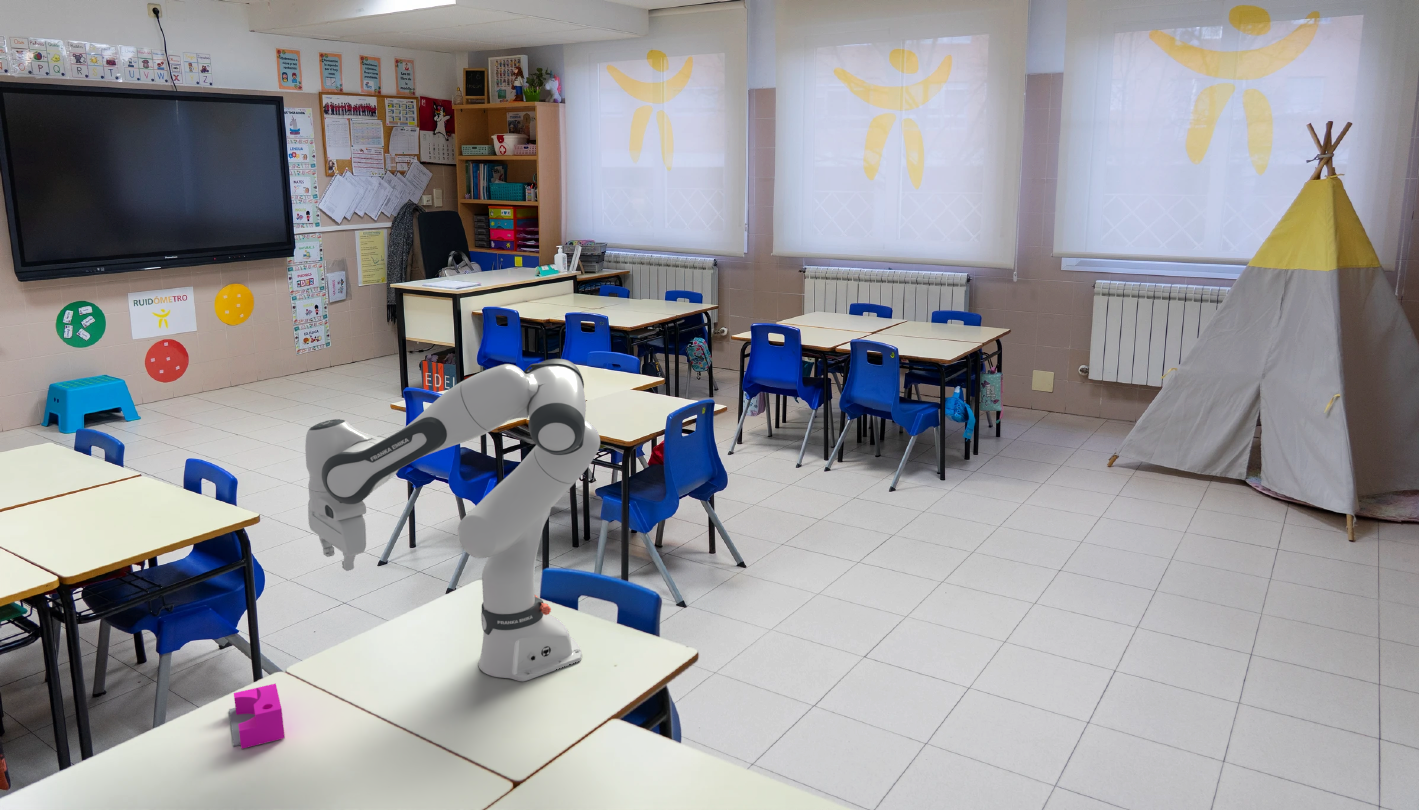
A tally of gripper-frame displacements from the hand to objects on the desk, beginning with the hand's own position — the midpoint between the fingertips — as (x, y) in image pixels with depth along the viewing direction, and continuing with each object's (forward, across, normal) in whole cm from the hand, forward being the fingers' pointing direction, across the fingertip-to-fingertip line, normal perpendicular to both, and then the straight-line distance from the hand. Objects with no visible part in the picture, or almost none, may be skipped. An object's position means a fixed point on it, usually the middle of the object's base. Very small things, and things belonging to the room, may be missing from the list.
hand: (338, 562), depth 200 cm
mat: (+27, +3, -20) cm, 34 cm away
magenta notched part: (+24, +5, -16) cm, 29 cm away
